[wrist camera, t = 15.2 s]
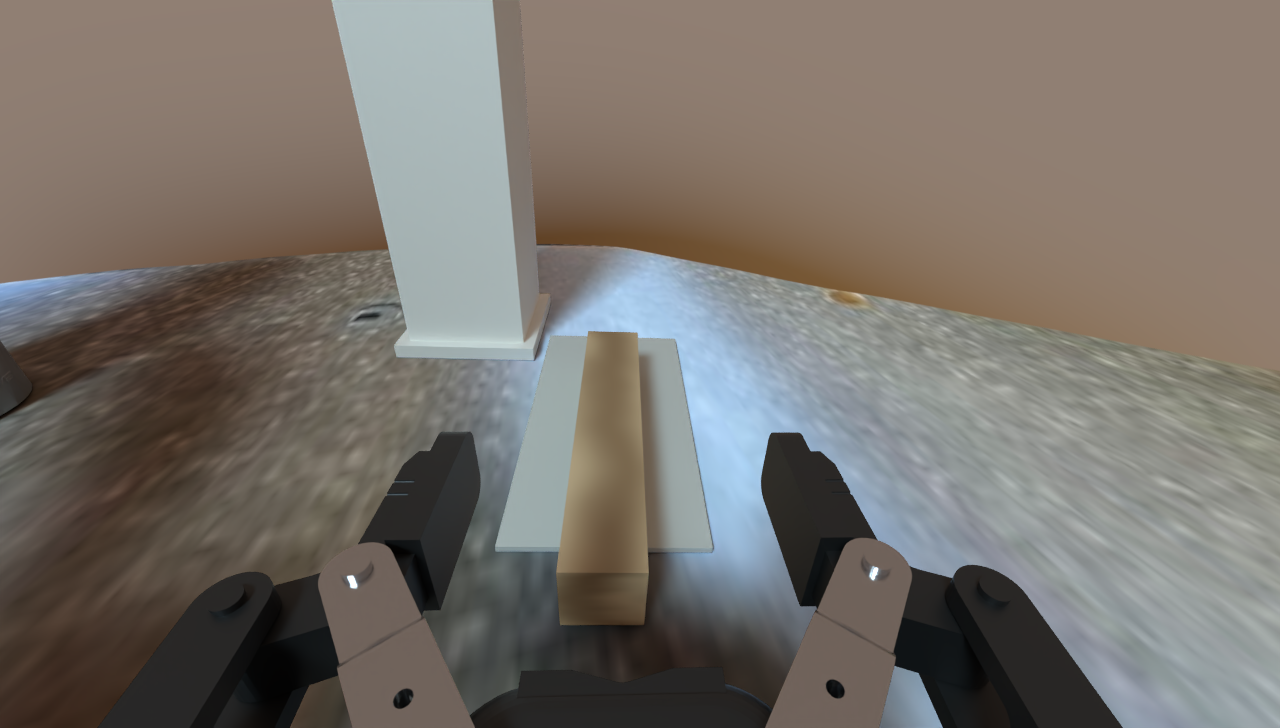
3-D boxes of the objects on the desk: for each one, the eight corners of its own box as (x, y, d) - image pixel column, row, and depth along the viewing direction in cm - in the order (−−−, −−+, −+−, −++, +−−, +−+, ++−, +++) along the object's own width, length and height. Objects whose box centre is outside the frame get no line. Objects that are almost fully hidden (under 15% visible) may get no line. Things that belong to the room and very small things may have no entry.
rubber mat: (496, 551, 27) (495, 546, 27) (550, 339, 47) (550, 335, 47) (712, 552, 28) (712, 548, 27) (674, 342, 48) (674, 338, 48)
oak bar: (559, 624, 23) (556, 572, 21) (588, 372, 42) (588, 331, 40) (644, 624, 24) (648, 573, 21) (635, 373, 42) (637, 332, 40)
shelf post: (396, 357, 43) (268, -151, 26) (440, 300, 54) (367, -93, 37) (533, 360, 44) (494, -135, 27) (550, 303, 54) (529, -82, 37)
